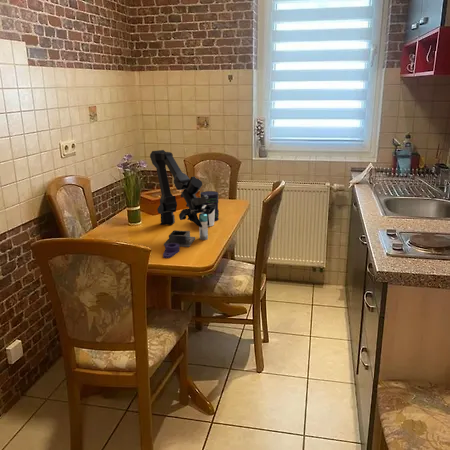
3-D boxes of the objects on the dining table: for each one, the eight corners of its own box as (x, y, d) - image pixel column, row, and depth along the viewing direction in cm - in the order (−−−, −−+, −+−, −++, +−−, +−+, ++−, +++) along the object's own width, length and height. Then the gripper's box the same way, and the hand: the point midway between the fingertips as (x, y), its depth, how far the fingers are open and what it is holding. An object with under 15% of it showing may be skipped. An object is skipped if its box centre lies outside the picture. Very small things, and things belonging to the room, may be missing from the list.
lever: (167, 249, 209) (167, 242, 208) (181, 249, 208) (180, 243, 207) (159, 258, 198) (158, 251, 197) (173, 259, 197) (172, 252, 196)
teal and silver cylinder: (198, 239, 220) (198, 215, 217) (200, 237, 224) (200, 213, 221) (206, 240, 220) (206, 216, 216) (208, 237, 224) (208, 213, 220)
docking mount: (163, 245, 213) (163, 236, 211) (171, 237, 224) (170, 228, 223) (188, 247, 210) (188, 237, 209) (195, 238, 222) (194, 229, 220)
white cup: (217, 223, 247) (216, 205, 244) (212, 227, 240) (212, 208, 237) (203, 222, 249) (202, 204, 246) (198, 226, 242) (197, 208, 239)
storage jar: (219, 217, 258) (219, 191, 254) (217, 222, 249) (217, 195, 244) (202, 216, 259) (201, 191, 255) (199, 221, 250) (198, 195, 245)
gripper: (181, 192, 213) (195, 220, 208) (213, 187, 224) (227, 213, 219) (172, 206, 221) (186, 233, 216) (204, 200, 232) (217, 225, 227)
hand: (205, 226), depth 219 cm, fingers closed on teal and silver cylinder, 4 cm apart
